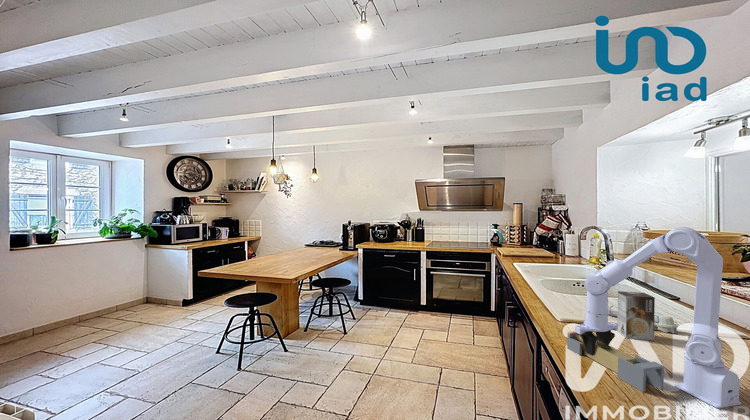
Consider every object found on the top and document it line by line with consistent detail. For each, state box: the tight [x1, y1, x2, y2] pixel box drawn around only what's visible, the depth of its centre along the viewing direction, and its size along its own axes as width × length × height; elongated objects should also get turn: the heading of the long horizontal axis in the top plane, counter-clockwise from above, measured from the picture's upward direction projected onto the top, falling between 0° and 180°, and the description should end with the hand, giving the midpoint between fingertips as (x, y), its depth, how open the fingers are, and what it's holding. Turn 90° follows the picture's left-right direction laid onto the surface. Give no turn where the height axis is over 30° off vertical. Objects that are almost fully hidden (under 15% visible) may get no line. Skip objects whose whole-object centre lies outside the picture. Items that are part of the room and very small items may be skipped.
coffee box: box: [617, 290, 656, 341], centre depth 116 cm, size 9×6×16 cm
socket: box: [566, 330, 583, 356], centre depth 105 cm, size 5×7×6 cm
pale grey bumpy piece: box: [608, 305, 678, 334], centre depth 129 cm, size 5×7×25 cm
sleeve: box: [617, 355, 665, 393], centre depth 86 cm, size 7×7×6 cm
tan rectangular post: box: [576, 335, 636, 374], centre depth 97 cm, size 17×4×5 cm, turn 11°
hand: (595, 353), depth 100 cm, fingers closed on tan rectangular post, 4 cm apart
